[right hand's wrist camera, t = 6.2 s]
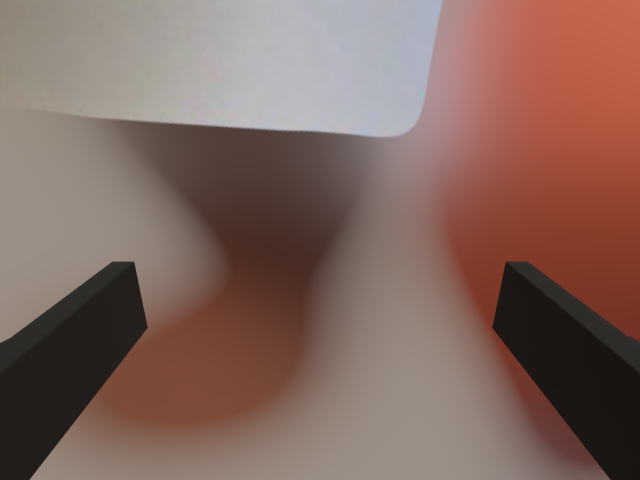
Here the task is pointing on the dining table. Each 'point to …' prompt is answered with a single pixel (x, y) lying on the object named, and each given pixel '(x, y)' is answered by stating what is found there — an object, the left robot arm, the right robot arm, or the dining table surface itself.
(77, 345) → the right robot arm
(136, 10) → the dining table surface
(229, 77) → the dining table surface
